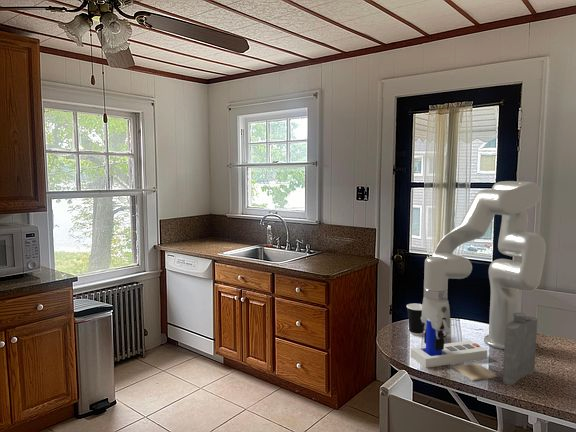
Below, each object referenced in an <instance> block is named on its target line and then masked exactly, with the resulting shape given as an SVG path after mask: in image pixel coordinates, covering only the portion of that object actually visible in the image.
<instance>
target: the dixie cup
mask: <svg viewBox="0 0 576 432" xmlns="http://www.w3.org/2000/svg"><path fill="white" fill-rule="evenodd" d="M422 304H423V303H422ZM422 304H421V303H408V304H406V308H407V317H408V318H407V320H408V330H409V334H410V335H411V334H412V335H411V336H415V337H420V336H423V334H424V333H425V332H424V326H423V323H422V321H421V316H422Z"/></svg>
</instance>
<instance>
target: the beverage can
mask: <svg viewBox="0 0 576 432" xmlns="http://www.w3.org/2000/svg"><path fill="white" fill-rule="evenodd" d="M440 329H441V327H440ZM440 333H441V331H439V334H440ZM435 338H436V333H435V329H433V328H432V325H431V321H430V319H427V325H426V344H425V346H426V353H427V354H428V355H430V356H437V355H442V350H435Z"/></svg>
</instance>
